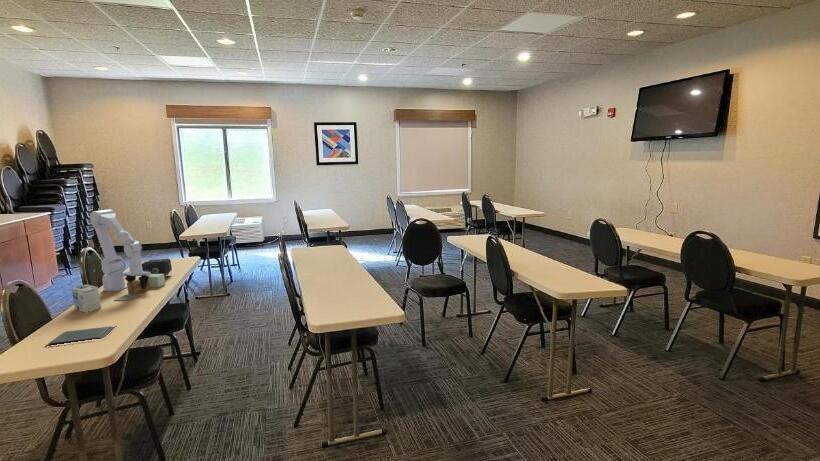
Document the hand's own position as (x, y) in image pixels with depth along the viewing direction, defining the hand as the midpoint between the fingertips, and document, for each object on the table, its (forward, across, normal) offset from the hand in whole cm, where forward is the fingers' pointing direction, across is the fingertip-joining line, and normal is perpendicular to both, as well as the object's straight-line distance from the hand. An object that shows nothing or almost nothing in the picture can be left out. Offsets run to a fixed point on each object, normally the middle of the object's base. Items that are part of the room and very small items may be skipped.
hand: (139, 288), depth 222 cm
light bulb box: (+2, -6, -26) cm, 27 cm away
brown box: (+1, 0, 0) cm, 1 cm away
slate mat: (+1, +2, -11) cm, 11 cm away
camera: (+2, -8, +26) cm, 27 cm away
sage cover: (+1, +2, +10) cm, 10 cm away
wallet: (+2, +19, -56) cm, 59 cm away
